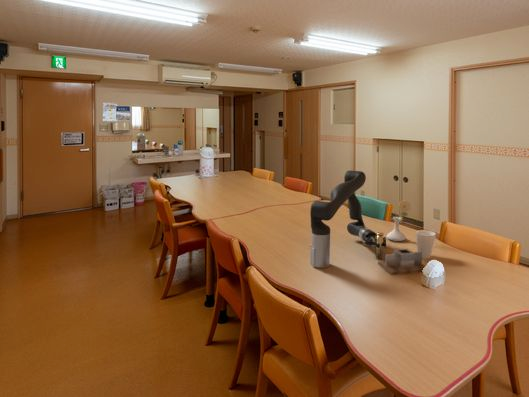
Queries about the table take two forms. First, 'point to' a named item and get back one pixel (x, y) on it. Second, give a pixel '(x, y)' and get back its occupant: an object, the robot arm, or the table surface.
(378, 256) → the brass capped peg
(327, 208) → the robot arm
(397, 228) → the flower in vase
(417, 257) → the grey winged socket holder
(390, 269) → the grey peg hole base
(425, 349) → the table surface
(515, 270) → the table surface
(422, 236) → the foam cup
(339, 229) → the table surface
